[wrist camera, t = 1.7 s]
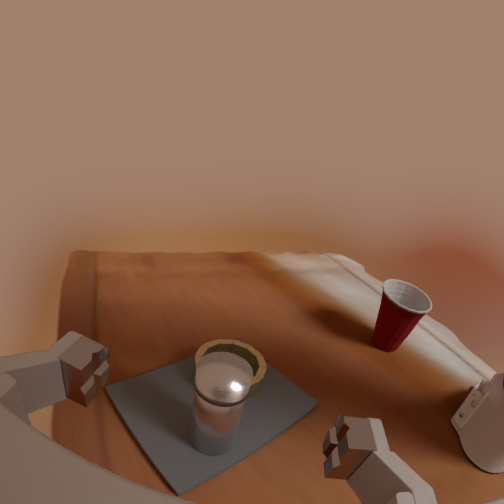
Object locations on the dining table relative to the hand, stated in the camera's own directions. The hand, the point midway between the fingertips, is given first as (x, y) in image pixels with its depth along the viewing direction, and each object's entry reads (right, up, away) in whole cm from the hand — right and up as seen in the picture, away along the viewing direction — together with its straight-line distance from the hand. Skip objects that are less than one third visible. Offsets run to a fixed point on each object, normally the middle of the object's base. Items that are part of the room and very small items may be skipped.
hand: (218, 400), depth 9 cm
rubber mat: (-4, -15, +27) cm, 31 cm away
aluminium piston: (-4, -16, +21) cm, 27 cm away
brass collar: (-2, -13, +31) cm, 34 cm away
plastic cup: (+28, -14, +46) cm, 55 cm away
